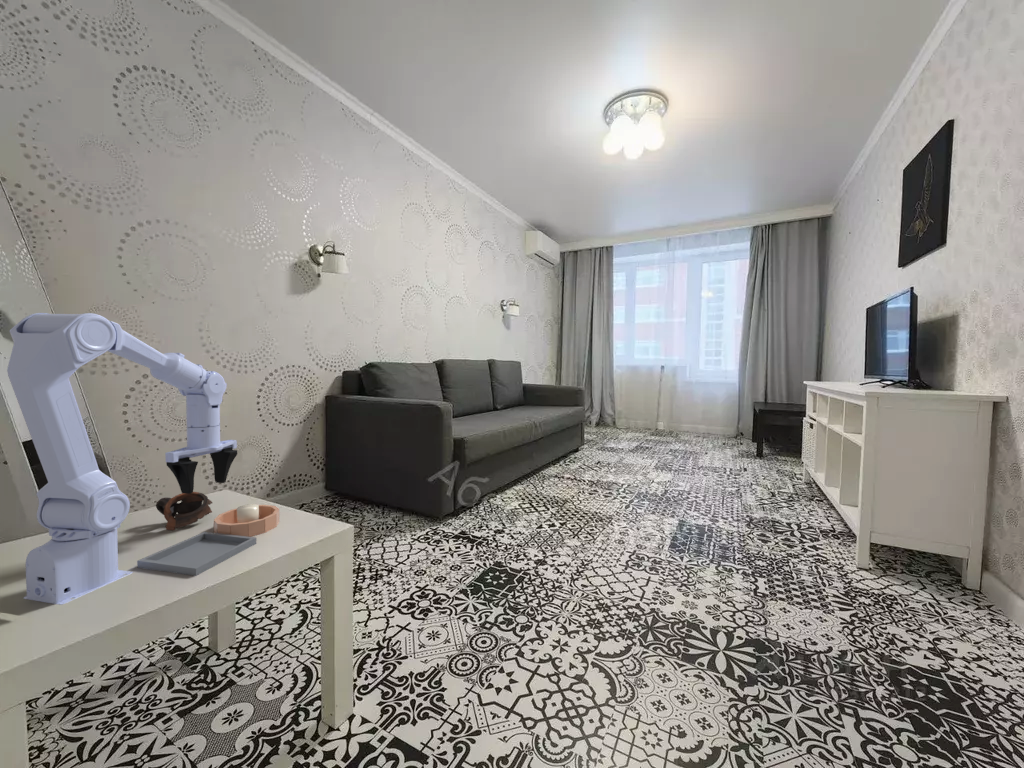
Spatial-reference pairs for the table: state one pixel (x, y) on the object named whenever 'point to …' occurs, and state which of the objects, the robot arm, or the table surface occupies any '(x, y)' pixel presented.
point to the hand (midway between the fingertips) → (204, 487)
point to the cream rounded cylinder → (247, 513)
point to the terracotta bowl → (229, 525)
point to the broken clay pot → (184, 509)
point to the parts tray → (197, 553)
